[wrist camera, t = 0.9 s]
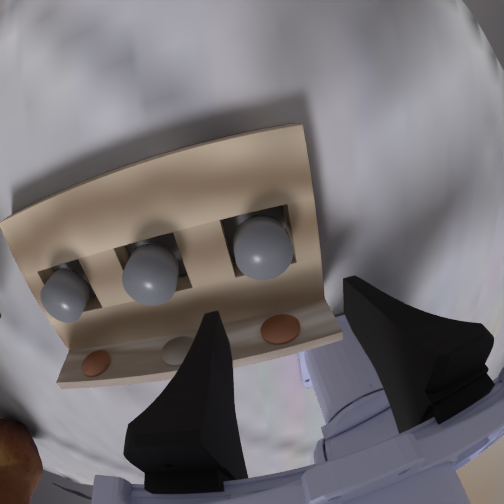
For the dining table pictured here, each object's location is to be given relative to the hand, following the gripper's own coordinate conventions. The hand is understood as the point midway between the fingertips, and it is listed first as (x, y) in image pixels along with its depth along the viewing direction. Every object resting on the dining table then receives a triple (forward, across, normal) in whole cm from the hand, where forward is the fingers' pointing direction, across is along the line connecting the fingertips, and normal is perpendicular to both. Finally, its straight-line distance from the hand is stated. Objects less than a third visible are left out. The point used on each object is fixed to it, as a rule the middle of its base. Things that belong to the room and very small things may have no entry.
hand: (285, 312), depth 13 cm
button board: (+9, +8, 0) cm, 12 cm away
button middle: (+8, +7, 0) cm, 11 cm away
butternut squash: (+10, +48, +25) cm, 55 cm away
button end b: (+8, +15, 0) cm, 17 cm away
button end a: (+8, 0, 0) cm, 8 cm away
